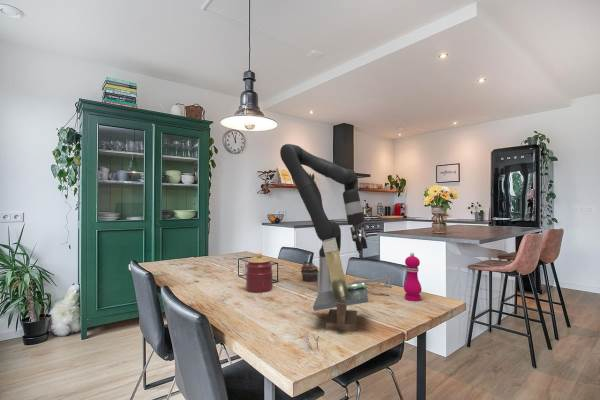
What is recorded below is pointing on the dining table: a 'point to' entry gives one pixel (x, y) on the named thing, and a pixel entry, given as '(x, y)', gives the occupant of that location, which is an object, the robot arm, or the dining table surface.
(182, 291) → the dining table surface
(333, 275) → the brushed metal stamp
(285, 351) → the dining table surface
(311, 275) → the cupcake
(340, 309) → the stand
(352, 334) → the dining table surface
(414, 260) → the pepper mill
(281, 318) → the dining table surface
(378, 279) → the caliper
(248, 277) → the canister
